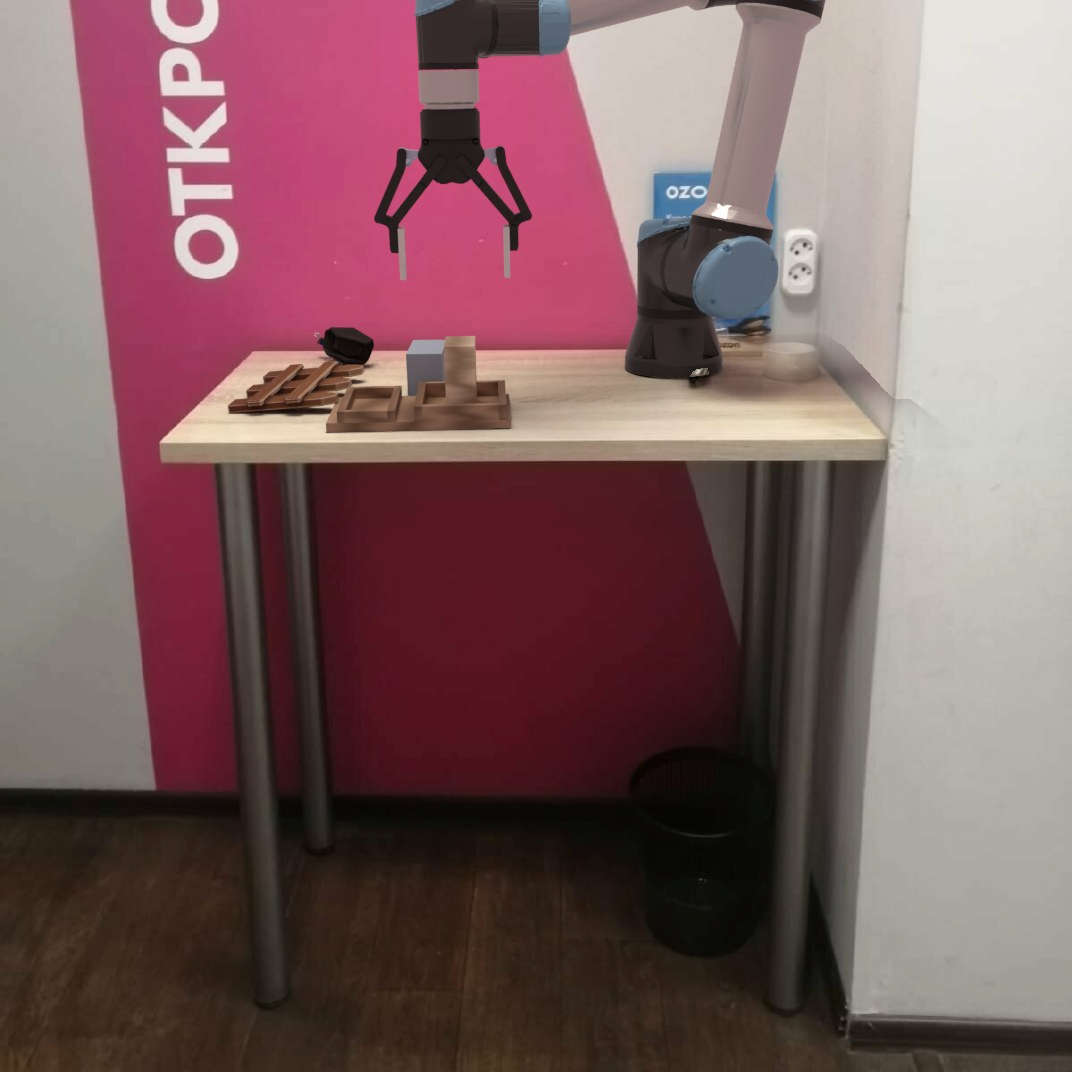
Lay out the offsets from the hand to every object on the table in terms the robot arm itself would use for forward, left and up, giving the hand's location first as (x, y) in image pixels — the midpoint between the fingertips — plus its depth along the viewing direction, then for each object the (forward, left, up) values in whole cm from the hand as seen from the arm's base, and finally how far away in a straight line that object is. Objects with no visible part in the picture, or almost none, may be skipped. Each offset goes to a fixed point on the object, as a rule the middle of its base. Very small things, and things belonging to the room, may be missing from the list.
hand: (455, 277), depth 166 cm
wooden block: (0, +1, -17) cm, 17 cm away
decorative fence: (+23, -13, -18) cm, 32 cm away
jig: (+5, +1, -18) cm, 19 cm away
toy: (+19, -36, -19) cm, 45 cm away
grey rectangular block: (+5, -12, -19) cm, 23 cm away
